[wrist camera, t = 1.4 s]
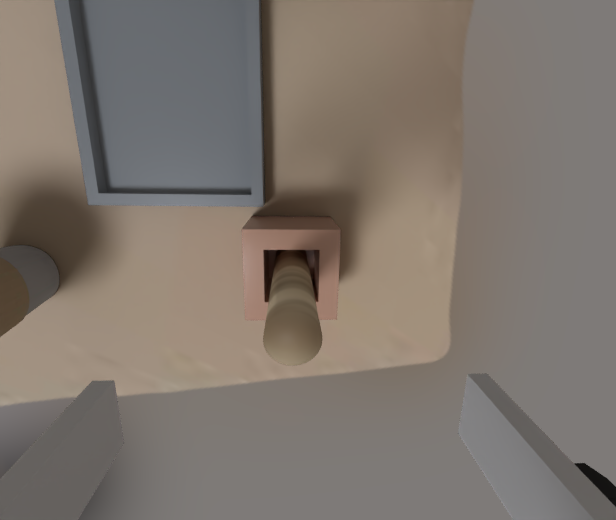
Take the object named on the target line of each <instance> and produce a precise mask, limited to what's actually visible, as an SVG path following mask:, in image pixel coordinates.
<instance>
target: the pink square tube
mask: <svg viewBox="0 0 616 520" xmlns="http://www.w3.org/2000/svg"><path fill="white" fill-rule="evenodd" d="M340 238H341V229H340V228H339V227H338V226H337V224H336V223H335V222H334V221H333V220H332V218H331V217H314V216H252V217H251V218H250V219H249V220H248V222H247V223H246V224H245V226H244V227H243V228H242V248H243V273H244V297H245V320H266V316H267V310H268V303H269V297H270V290H271V284H272V277H273V271H274V264H275V258H276V252H277V250H305V251H306V255H307V260H308V265H309V270H310V275H311V280H312V286H313V291H314V296H315V301H316V306H317V312H318V317H319V320H333V319H337V308H338V285H339V261H340Z"/></svg>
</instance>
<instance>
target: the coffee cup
mask: <svg viewBox="0 0 616 520" xmlns="http://www.w3.org/2000/svg"><path fill="white" fill-rule="evenodd" d="M58 286H59V273H58V269H57V267H56V265H55V263H54V261H53V260H52V258H51V257H50V256H49V255H48V254H47V253H45V252H44V251H42V250H40V249H38V248H35V247H32V246H26V245H17V246H9V247H3V248H0V337H1V336H2V335H3V334H5V333H6V332H8V331H9V330H10V329H12V328H13V327H14V326H16V325H17V324H18V323H19V322H21V321H22V320H23V319H24V317H25V316H26V315H27V314H29V313H30V312H31V311H33V310H34V309H35V308H37V307H38V306H39V305H41V304H42V303H43V302H45V301H46V300H48V299H49V298H50V297H51V296H53V295H54V294H55V292H56V291H57V289H58Z"/></svg>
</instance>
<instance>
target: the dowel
mask: <svg viewBox="0 0 616 520" xmlns="http://www.w3.org/2000/svg"><path fill="white" fill-rule="evenodd" d="M263 343H264V347H265V350H266V352H267V353H268V355H269V356H270V357H271V358H272V359H274V360H275V361H277V362H278V363H281V364H284V365H290V366H294V365H301V364H304V363H306V362H308V361H310V360H311V359H312V358H314V357H315V356H316V354H317V353H318V352H319V350H320V348H321V345H322V332H321V327H320V322H319V317H318V312H317V306H316V301H315V296H314V291H313V286H312V280H311V275H310V270H309V265H308V260H307V255H306V251H305V250H277V252H276V258H275V264H274V271H273V277H272V284H271V290H270V297H269V303H268V310H267V316H266V323H265V329H264V336H263Z"/></svg>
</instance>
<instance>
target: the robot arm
mask: <svg viewBox="0 0 616 520" xmlns="http://www.w3.org/2000/svg"><path fill="white" fill-rule="evenodd" d="M458 434H459V436H460V437H461V439H462V441H463V442H464V444H465V445H466V447H467V448H468V450H469V452H470V453H471V455H472V456H473V458H474V460H475V461H476V462H477V464H478V466H479V467H480V469H481V471H482V472H483V474H484V475H485V477H486V478H487V480H488V482H489V483H490V485H491V486H492V488H493V489H494V491H495V493H496V494H497V496H498V497H499V499H500V500H501V502H502V504H503V505H504V507H505V508H506V510H507V511H508V513H509V514H510V516H511V518H512V519H513V520H616V487H615V486H614V485H613V484H612V483H611V482H610V481H609V480H608V479H607V478H606V477H604V476H603V475H601V474H600V473H598V472H597V471H595V470H594V469H592V468H590V467H589V466H588V465H586V464H585V463H577V464H576V463H575V464H574V463H573V462H572V461H571V460H570V459H569V458H568V457H567V456H566V455H565V454H564V453H563V452H562V451H561V450H560V449H559V448H558V447H557V446H556V445H555V444H554V442H553V441H552V440H550V438H549V437H548V436H547V435H546V434H545V433H544V432H543V431H542V430H541V429H540V428H539V427H538V426H537V425H536V424H535V423H534V422H533V421H532V420H531V419H530V418H529V417H528V416H527V414H526V413H525V412H523V410H522V409H521V408H520V407H519V406H518V405H517V404H516V403H515V402H514V401H513V400H512V399H511V398H510V397H509V396H508V395H507V394H506V393H505V392H504V391H503V390H502V389H501V388H500V387H499V385H498V384H497V383H496V382H495V381H494V380H493V379H492V378H491V377H490V376H489V375H488V374H468V375H467V381H466V387H465V393H464V400H463V406H462V412H461V418H460V424H459V431H458ZM123 444H124V438H123V432H122V426H121V420H120V413H119V407H118V401H117V395H116V388H115V382H114V380H113V381H92V382H91V383H90V384H89V385H88V386H87V387H86V388H85V389H84V390H83V391H82V392H81V393H80V395H79V396H78V397H77V398H76V399H75V400H74V401H73V402H72V403H71V404H70V405H69V406H68V407H67V408H66V410H65V411H64V412H63V413H62V414H61V415H60V416H59V417H58V418H57V419H56V420H55V421H54V422H53V423H52V424H51V425H50V427H49V428H48V429H47V430H46V431H45V432H44V433H43V434H42V435H41V436H40V437H39V438H38V439H37V440H36V442H34V444H33V445H32V446H31V447H30V448H29V449H28V450H27V451H26V452H25V453H24V454H23V455H22V456H21V457H20V458H19V460H18V461H17V462H16V463H15V464H14V465H13V466H12V467H11V468H10V469H9V470H8V471H7V472H6V473H5V474H4V475H3V477H2V478H1V479H0V520H78V518H79V517H80V515H81V513H82V512H83V510H84V508H85V507H86V505H87V503H88V502H89V500H90V499H91V497H92V495H93V494H94V492H95V490H96V488H97V487H98V485H99V484H100V482H101V480H102V479H103V477H104V475H105V474H106V472H107V471H108V469H109V467H110V466H111V464H112V462H113V461H114V459H115V457H116V456H117V454H118V453H119V451H120V449H121V447H122V446H123Z"/></svg>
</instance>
